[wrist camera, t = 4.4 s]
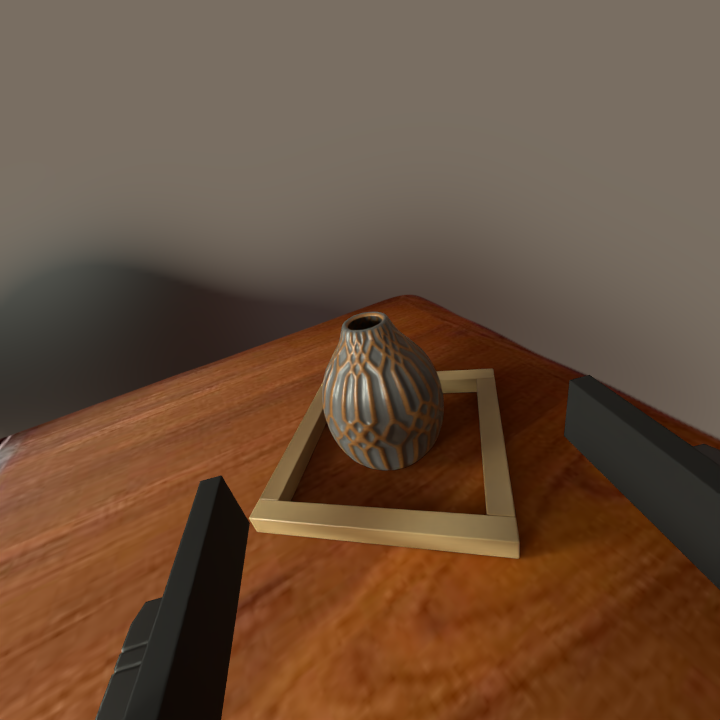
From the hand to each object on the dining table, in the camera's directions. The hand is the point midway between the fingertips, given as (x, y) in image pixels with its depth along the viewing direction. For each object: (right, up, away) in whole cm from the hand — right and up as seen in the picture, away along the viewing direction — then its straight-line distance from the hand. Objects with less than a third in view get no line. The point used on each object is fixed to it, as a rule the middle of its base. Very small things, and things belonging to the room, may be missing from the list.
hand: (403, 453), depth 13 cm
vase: (0, -2, +9) cm, 9 cm away
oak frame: (0, -2, +9) cm, 9 cm away
